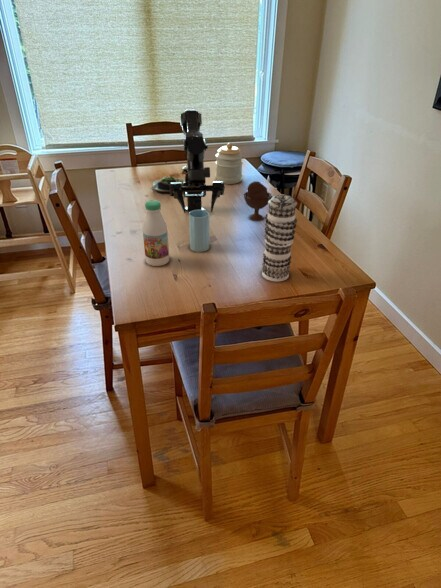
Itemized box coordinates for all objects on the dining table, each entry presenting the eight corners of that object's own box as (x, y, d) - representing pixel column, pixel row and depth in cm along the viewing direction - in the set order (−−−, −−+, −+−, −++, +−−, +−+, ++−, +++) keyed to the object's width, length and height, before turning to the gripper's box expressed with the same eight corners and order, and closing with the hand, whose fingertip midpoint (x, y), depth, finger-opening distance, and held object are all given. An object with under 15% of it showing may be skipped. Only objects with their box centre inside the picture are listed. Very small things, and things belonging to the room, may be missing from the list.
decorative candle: (269, 284, 122) (277, 205, 108) (255, 270, 129) (260, 194, 115) (295, 278, 125) (306, 201, 111) (280, 264, 132) (288, 190, 118)
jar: (217, 175, 206) (217, 139, 196) (242, 176, 205) (244, 140, 195) (213, 183, 196) (213, 145, 186) (240, 185, 194) (242, 147, 184)
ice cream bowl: (268, 224, 157) (271, 186, 149) (240, 222, 159) (241, 184, 151) (271, 214, 166) (274, 177, 158) (244, 211, 168) (246, 175, 159)
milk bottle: (146, 255, 136) (140, 198, 125) (169, 254, 136) (166, 197, 125) (145, 267, 129) (138, 207, 118) (169, 266, 130) (165, 207, 119)
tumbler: (186, 245, 142) (185, 212, 135) (203, 241, 145) (202, 208, 138) (196, 253, 137) (195, 219, 130) (213, 248, 140) (213, 214, 133)
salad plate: (148, 181, 197) (147, 171, 194) (185, 179, 200) (184, 169, 198) (151, 195, 181) (151, 185, 179) (191, 193, 185) (191, 183, 182)
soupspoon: (193, 169, 215) (181, 170, 214) (193, 163, 213) (180, 164, 213) (199, 182, 197) (185, 183, 196) (198, 175, 195) (185, 176, 194)
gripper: (167, 158, 133) (169, 203, 130) (224, 157, 134) (227, 201, 131) (169, 174, 143) (171, 216, 140) (221, 173, 145) (224, 214, 142)
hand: (198, 212), depth 138 cm, fingers open, 9 cm apart
